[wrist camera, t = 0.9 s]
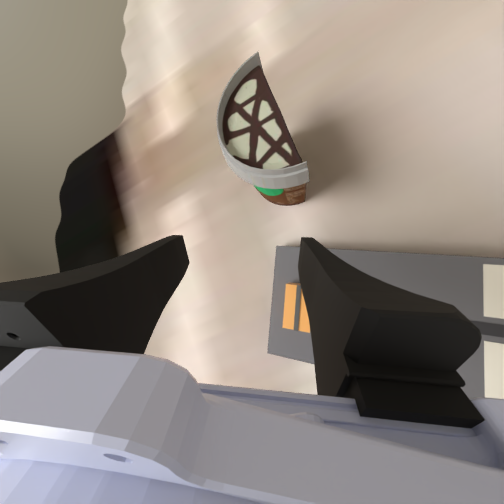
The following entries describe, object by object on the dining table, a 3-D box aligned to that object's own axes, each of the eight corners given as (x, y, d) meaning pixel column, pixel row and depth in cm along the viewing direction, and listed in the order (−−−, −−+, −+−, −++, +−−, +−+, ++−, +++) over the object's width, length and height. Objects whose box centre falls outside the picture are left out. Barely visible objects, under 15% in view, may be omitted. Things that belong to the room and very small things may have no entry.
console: (598, 419, 14) (644, 442, 12) (271, 346, 22) (267, 353, 20) (588, 266, 15) (629, 265, 13) (279, 247, 23) (276, 245, 21)
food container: (236, 153, 27) (195, 87, 17) (276, 132, 25) (255, 46, 16) (263, 231, 24) (233, 203, 15) (309, 212, 23) (309, 167, 13)
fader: (309, 324, 19) (309, 333, 16) (286, 320, 20) (282, 328, 17) (312, 284, 19) (312, 286, 16) (289, 282, 20) (285, 283, 17)
